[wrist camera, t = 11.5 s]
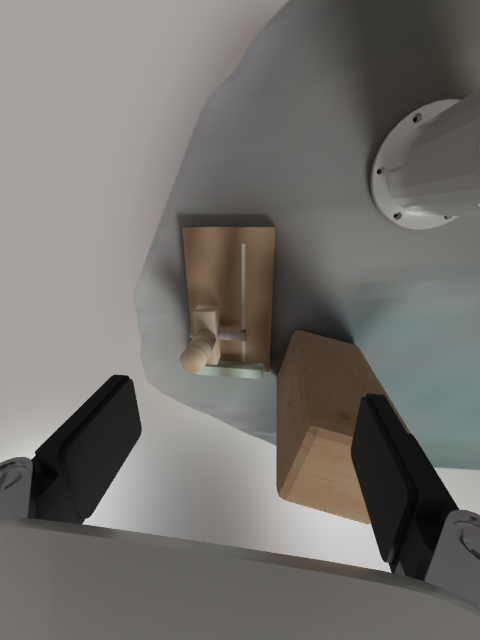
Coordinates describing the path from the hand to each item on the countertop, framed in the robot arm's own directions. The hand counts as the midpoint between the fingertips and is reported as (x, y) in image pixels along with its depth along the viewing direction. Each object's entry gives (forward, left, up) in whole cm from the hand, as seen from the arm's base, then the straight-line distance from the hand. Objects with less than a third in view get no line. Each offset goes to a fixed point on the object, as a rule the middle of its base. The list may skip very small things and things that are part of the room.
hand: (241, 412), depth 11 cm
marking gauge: (+6, +8, -26) cm, 28 cm away
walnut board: (+5, +5, -28) cm, 29 cm away
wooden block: (-8, +14, -28) cm, 33 cm away
